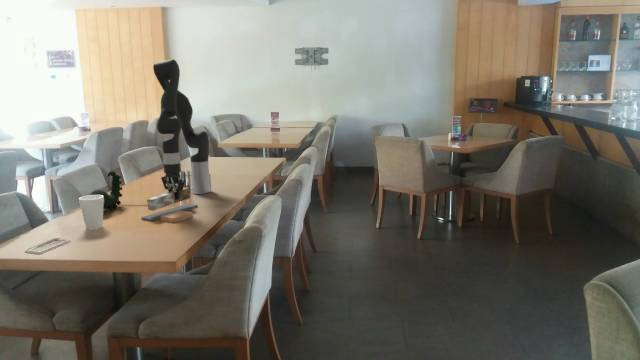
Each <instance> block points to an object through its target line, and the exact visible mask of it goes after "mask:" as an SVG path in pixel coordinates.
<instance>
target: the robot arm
mask: <svg viewBox="0 0 640 360" xmlns="http://www.w3.org/2000/svg"><path fill="white" fill-rule="evenodd" d="M152 68H153V72H154V75H155V77H156V79H157V81H158V83H159V85H160V86H161V88H162V89H163V94H161V97H160V113H159V117H158V120H157V123H156V124H157V125H156V129H157V132H158V133H159V134H161V135H173V136H172V137H171V138H166V139H164V140H163V141H162V161H163V173H164V175H165V176H161V179H160V180H161V182H162V184H163V187H164V190H167V193H168V192H171V191H175V192H174V193H175V200H178V199H180V191H181V190H183V187H185V186H184V185H185V183H186V178H182V177H181V172H182V169H181V167H182V165H181V156H180V145H179V144H180V143H179V141H180V134H181V132H182V134H183V135H182V136H183V138H184V141H185V143H186V145H187V146H188V147H189V148H191V149H197V152H196V153H195V154H192V155H191V156H190V171H191V174H190V175H191V188H192V194H195V195H204V194H209V193H211V192H212V180H211V179H212V176H211V173H210V167H209V156H210V140H209V138H210V137H209V135H208V132H207V131H204V130H194V128H193V126H192V122H191V121H192V117H193V106H192V104H191V103H190V100H189V97H188V96H186V95H185V94H184V93H183V92H181V91H180V90H179V82H180V76H181V74H180V72H181V71H180V66H179V64H178V62H177V60H175V59H174V58H173V59H172V58H171V59H166V60H160V61H158V62H155V63H154V64H153V66H152Z"/></svg>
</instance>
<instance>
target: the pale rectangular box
mask: <svg viewBox="0 0 640 360" xmlns="http://www.w3.org/2000/svg"><path fill="white" fill-rule="evenodd" d="M174 192H175V191H174V190H173V191H171V192H168V191H167V192H165V193H162V194H159V195H156V196H153V197H150V198H147V199H146V202H147V210H148V211H152V212H154V211H157V210H161V209H163V208H166V207H169V206H171V205H174V204H178V203H179V202H182V201H186V200H189V199H191V194H190V193H191V192H190V187H185V186H184V187H183V190H181V191H180V199H178V200H175V193H174Z"/></svg>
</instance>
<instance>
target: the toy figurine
mask: <svg viewBox="0 0 640 360" xmlns="http://www.w3.org/2000/svg"><path fill="white" fill-rule="evenodd" d="M110 176H111V179H112V180H111V187H110V190H111V191H110V193H108V192H106V191H105V190H102V189H95V190H93V191H92V192H91V193H89V195H103V196H104V204H103V210H108V211H113V209H115V210H117V209H118V207H119V206H120V205H121V204H122V202H121V200H120V199H119V198H121V197H123V193H121V192H120V191H122V190H123V187H122V186H120V185H122V183H123V181H121V180H120V179H121V178H122V176H121V175H119V174H117V173H116V171H113V170H110V171H108V173H107V177H108V178H109V177H110Z"/></svg>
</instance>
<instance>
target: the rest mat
mask: <svg viewBox="0 0 640 360" xmlns="http://www.w3.org/2000/svg"><path fill="white" fill-rule="evenodd" d="M198 207H199V206H198V204H194V203H187V204H186V203H185V204H183V205H179V206H175V207H172V208H169V209H165V210H163V211H158V212H156V213H155V212H154V213H151V214H149V215H145V216H141V220H143V221H147V222H153V220H154V221H156V219H157V220H161V216H162V215H166V214H169V213H172V212H176V211H179V210H181V211H187V212H188V211H189V210H192V209H197V208H198Z"/></svg>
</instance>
